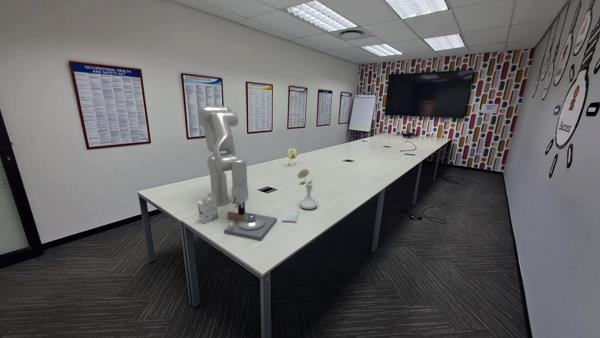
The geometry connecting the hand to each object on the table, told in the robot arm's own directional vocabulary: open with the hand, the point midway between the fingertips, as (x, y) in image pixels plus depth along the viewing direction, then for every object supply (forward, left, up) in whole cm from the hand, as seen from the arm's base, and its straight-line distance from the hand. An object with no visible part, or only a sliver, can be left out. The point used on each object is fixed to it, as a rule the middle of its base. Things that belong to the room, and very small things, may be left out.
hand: (241, 213), depth 126 cm
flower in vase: (+29, +30, -5) cm, 42 cm away
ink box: (-18, -4, -5) cm, 19 cm away
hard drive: (+24, +13, -5) cm, 28 cm away
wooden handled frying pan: (+4, -3, -2) cm, 6 cm away
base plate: (+8, -3, -5) cm, 10 cm away
